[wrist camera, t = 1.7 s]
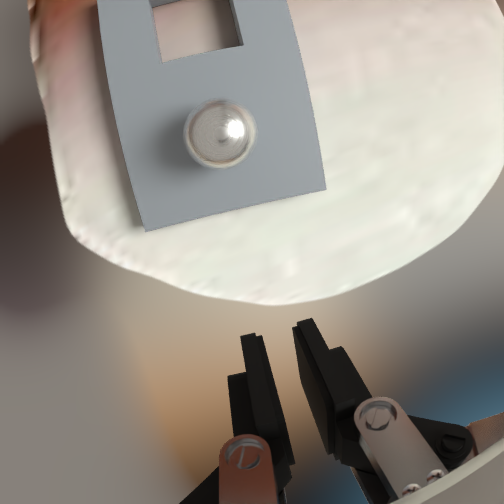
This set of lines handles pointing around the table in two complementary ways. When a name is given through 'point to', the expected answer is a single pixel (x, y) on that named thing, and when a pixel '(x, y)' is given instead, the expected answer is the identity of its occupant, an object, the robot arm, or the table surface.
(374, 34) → the table surface
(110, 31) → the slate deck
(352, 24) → the table surface
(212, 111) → the steel ball
